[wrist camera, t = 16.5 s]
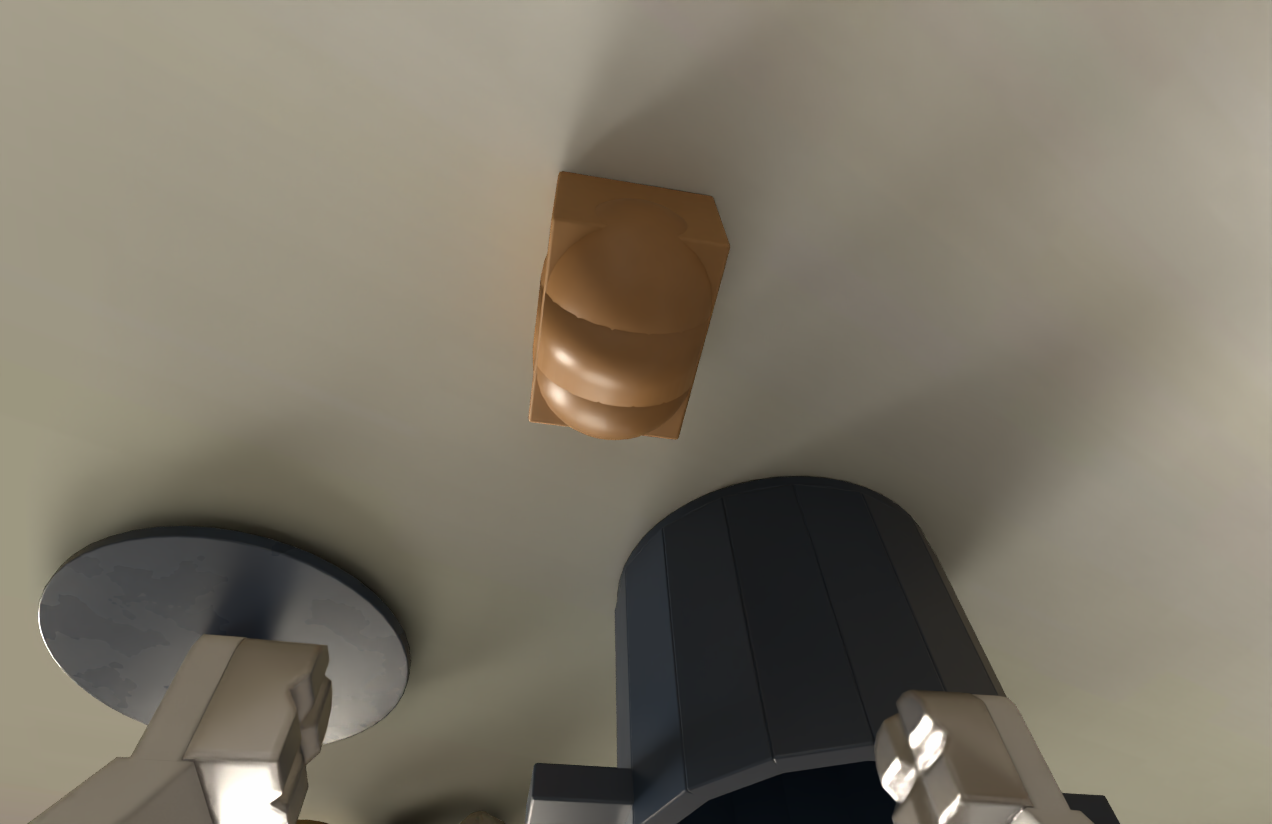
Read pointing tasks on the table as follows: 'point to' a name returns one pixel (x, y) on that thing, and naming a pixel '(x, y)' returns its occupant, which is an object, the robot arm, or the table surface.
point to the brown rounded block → (624, 306)
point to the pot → (771, 662)
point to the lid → (216, 617)
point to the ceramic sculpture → (480, 820)
